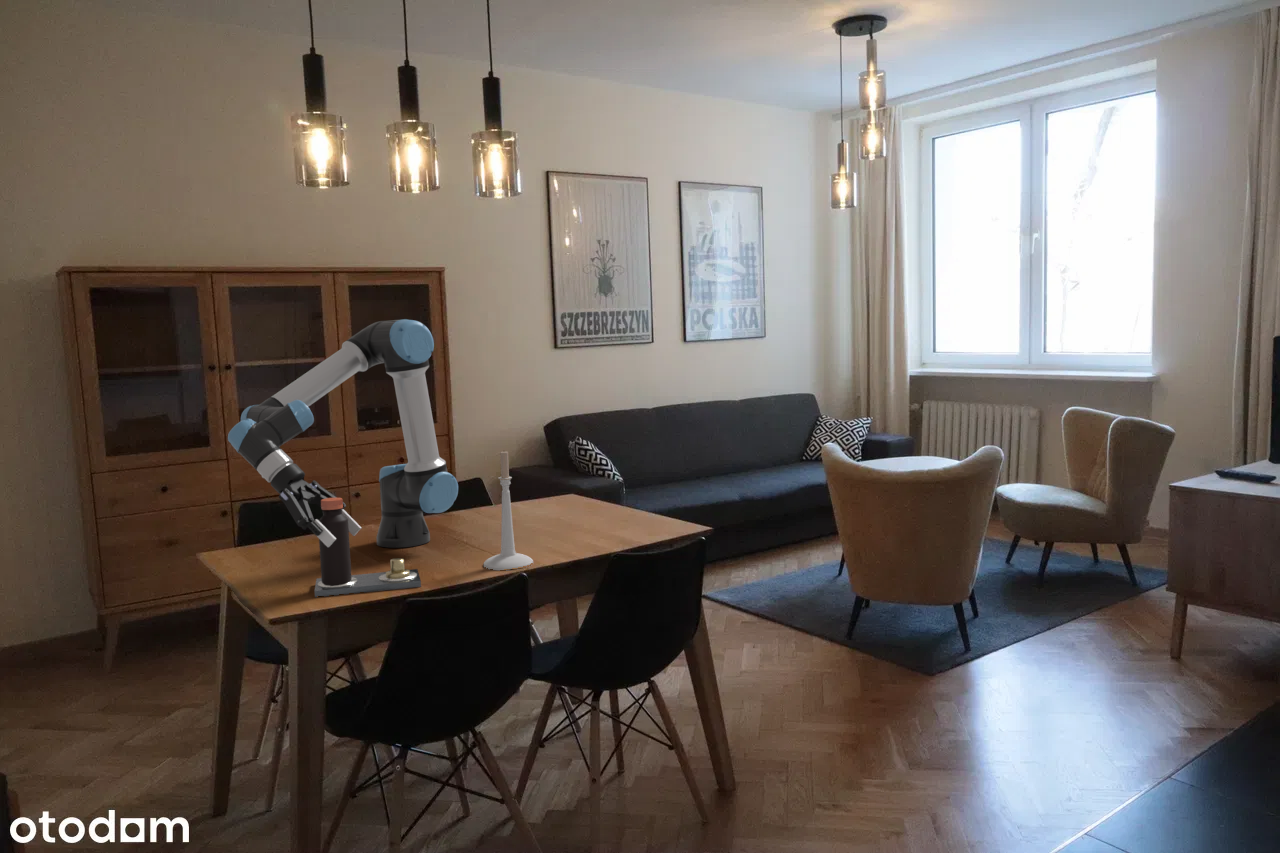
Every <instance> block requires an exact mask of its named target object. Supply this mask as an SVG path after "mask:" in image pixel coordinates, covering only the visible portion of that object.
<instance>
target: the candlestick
mask: <svg viewBox="0 0 1280 853" xmlns="http://www.w3.org/2000/svg"><path fill="white" fill-rule="evenodd" d="M499 453H500V457H499V458H500V477H497V478H498V480H499V481H500V486H501V488H502V491H501V528H500V529H501V535H500V536H501V541H500V542H501V543H500V545H501V546H500V553H499V554H495V555H493V556H491V557H489V558H487V559H485V561H484V562H483V567H484V568H485V567H486V568H485V569H487V568H488V569H487V570H490V569H493V570H492V571H500V570H504V569H512V568H518V567H523V566H527V565H530V564H531V563H533V564H534V560H533V559H532V558H531V557H530V556H528V555H526V554H523V553H518V552H517V551H516V549H515V547H516V546H515V538H514V537H515V536H514V529H513V528H514V526H513V516H512V515H513V514H512V504H511V493H510V485H511V484H512V483H511V480H512V479H513V477H512V476H510V471H509V470H510V469H509V465H510V464H509V451H501V452H499Z"/></svg>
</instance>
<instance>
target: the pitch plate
mask: <svg viewBox="0 0 1280 853" xmlns="http://www.w3.org/2000/svg"><path fill="white" fill-rule="evenodd" d="M351 577H352V579H351V581H350V582H348V583H345V584H340V585H325V584H323V583H322V578H321V577H319V578H316V579H315V580H316V581H315V584H314V585H315V586H314V598H318V597H317V596H324V597H330V596H329V595H334V596H340V595H339V594H344V595H350V594H349V593H354V594H361V593H360V592H364V593H373V592H382V591H393V590H394V591H395V590H401V589H402V590H403V589H413V588H420V587H422V581H421V577H420V574H419V570H418V568H415V569H414V568H413V569H407V568H405V559H404V558H400V557H397V558H392V559H390V570H388V571H383V572H381V571H380V572H374V573H371V572H370V573H362V574H360V573H359V574H351Z"/></svg>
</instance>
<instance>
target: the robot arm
mask: <svg viewBox="0 0 1280 853" xmlns="http://www.w3.org/2000/svg"><path fill="white" fill-rule="evenodd" d="M434 342H435V340H434V337H433V335H432V333H431V331H430V330H429V328H428V327H427V326H426V325H425V324H424V323H422V322H421V321H418V320H413V319H407V318H404V319H394V320H380V321H376V322H373V323H371V324H370V325H367V326H366V327H364V328H363V329H361V330H359V331H358V332H357V333H355V334H354V335H352V336H351V337H349V338H348V339H347V340H345V341H344V342H342V344H341V348H340V349H339V350H338V351H336V352H334V353H333V354H331V355H330V356H329V357H327V358H326V359H324V360H323V361H321V362H320V363H318V364H317V365H316V366H314V367H312V368H311V369H310V370H308V371H307V372H306V373H304V374H302V375H301V376H300V377H298V378H297V379H296V380H295V379H294V381H292V382H291V383H290V384H288V385H286V386H285V387H284V388H282V389H280V390H279V391H278V392H276V393H275V394H273V395H272V396H270V397H269V398H267V399H265V400H264V401H263V402H261V403H260V404H253V405H249V406H247V407H245V409H244V410H243V411H242V412H241V416H240V421H239V422H238V423H236V424H235V425H234V426H233V427H232V428H231V429H230V431H229V432H228V434H227V441H228V442H229V443H230V444H231V446H232V447H233V449H235V451H236V453H238V454H239V455H240V456H241V457H243V459H245V461H247V462H248V464H249V465H251V466H252V467H253V469H255V471H256V472H258V474H259V475H260V476H261V478H262V479H264V480H265V481H267V483H270V486H271V487H272V488H273V489H274V490H275V491H276V492H277V493H278V494H279V495H278V498H279V500H280V501H281V502H282V503H283V504H284V505H285V507H286V509H287V510H288V512H289V514H290V515H291V517H292V519H293V520H294V522H295V523H296V525H297V527H298V528H299V527H300V528H301V529H302V530H304V531H306V530H307V529H309V530H310V531H311V533H313V534H314V535H315V536H316V538H318V540H319V539H320V540H321V541H322V542H323V543H324V544H325V545H326V546H327V547H330V546H331V544H332V543H333V542H334V541H335V540H336V538H335V537H334V536H333V535H332V534H331V533H330V532H329V531H328V530H327V529H326V527H325V526H324V525H323V524H322V523H321V522H320V521H319V519H318V518H316V519H315V518H314V516H313V513H312V511H311V508H310V505H317V506H318V507H320V508H321V500H322V499H326V498H338V497H337V496H335V495H334V494H333V493H331V492H330V491H328V490H327V489H326V488H325V487H323V486H321V485H320V484H319V482H318V481H316V480H312V481H311V483H309V482H307V481H306V480H305V476H306V473H305V472H304V470H302V468H301V467H299V465H298V464H297V463H294V460H293V459H292V458H291V457H290V456H289V455H288V454H287V453H286V452H285V451H284V450H283V449H282V448H281V447H282V446H283V445H284V444H286V443H287V442H289V441H291V440H292V439H293V438H295V437H296V436H298V435H299V434H301V433H303V432H305V431H306V430H307V429H308V428H309V427H311V426H312V425H313V424H314V422H315V418H314V415H313V412H312V411H311V408H310V406H312V405H313V404H314V403H316V402H317V401H319V400H320V399H321V398H323V397H324V396H326V395H327V394H328V393H329V392H331V391H333V390H334V389H335V388H337V387H339V386H340V385H341V384H342V383H344V382H345V381H347V380H348V379H349V378H352V376H354V375H356V374H357V373H358V372H366V371H367V370H369V369H370V368H372V367H374V366H376V365H381V364H384V367H385V374H387V375H389V376H390V377H392V379H393V384H394V390H395V397H396V401H397V407H398V412H399V417H400V424H401V428H402V429H401V430H402V433H403V434H402V436H403V440H404V441H403V442H404V446H405V451H406V457H407V463H403V464H402V463H401V464H393V465H387V466H386V465H385V466H383V467H381V468H380V469H379V475H378V476H379V478H378V482H379V493H380V509H381V512H380V513H381V520H380V523H379V526H378V530H377V534H376V545H377V546H378V547H380V548H381V547H383V548H389V549H390V548H392V549H393V548H397V549H398V548H409V547H416V546H420V545H425V544H427V543H429V542H430V541H431V533H430V531H429V527H428V525H427V522H426V520H425V516H424V513H427V514H440V513H444V512H446V511H447V510H449V509H450V508H451V507H452V506H453V505H454V502H455V501H456V500H457V497H458V494H459V484H458V481H457V478H456V477H455V476H454V475H453V474H452V473H450V472H448V468H447V461H446V460H445V459H444V458H442V457H440V454H439V453H440V452H439V448H438V440H437V436H436V429H435V422H434V419H433V413H432V408H431V407H432V405H431V401H430V396H429V389H428V384H427V378H426V371H427V370H428V369H429V368H430V363H429V359H430V357H431V356H432V353H433V352H434V347H435V343H434ZM309 504H310V505H309ZM346 507H347V505H346V503H345V502H344V501H343V510H342V514H343V515H344V516H345V517H347V519H348V528H349V534H351V535H352V536H356V535H357V534H358V532H359V531H360V530H362V527H361V525H359V523H358V522H357V521H356V520H355V519H354V518H352V516H351V515H350V514H349V513H348V512H347V511H346V510H345V508H346ZM423 512H424V513H423Z"/></svg>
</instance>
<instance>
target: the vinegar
mask: <svg viewBox="0 0 1280 853" xmlns="http://www.w3.org/2000/svg"><path fill="white" fill-rule="evenodd" d="M343 502H344V500H343V498H342V497H337V498H326V499H322V500H321V507H320V509H321V512H322V516H321V517H320V518H319V519H318V520H319V521H320V522H321V523H322V524H323V525H324V526H325V527H326V529H327V530H328V531H329V532H330V533H331V534H332V535H333V536H334V537H335V538H336V540H335V541H334V542H333V543H332V544H331V546H330V547H327V546H326V545H325V544H324V543H323V542H322V541H321V540H320V539H319V538H318V544H319V546H318V547H319V557H320V558H319V560H320V576H321V577H320V578H322V583H323V584H325V585H340V584H345V583H348V582H350V581H351V579H352V577H351V575H352V564H351V563H352V562H351V550H350V549H351V548H350V546H351V545H350V532H349V528H348V519H347V517H345V516H344V515H343V514H342V510H343Z"/></svg>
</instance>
